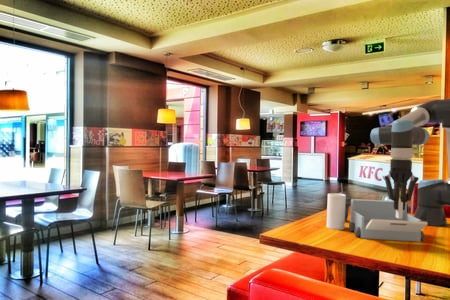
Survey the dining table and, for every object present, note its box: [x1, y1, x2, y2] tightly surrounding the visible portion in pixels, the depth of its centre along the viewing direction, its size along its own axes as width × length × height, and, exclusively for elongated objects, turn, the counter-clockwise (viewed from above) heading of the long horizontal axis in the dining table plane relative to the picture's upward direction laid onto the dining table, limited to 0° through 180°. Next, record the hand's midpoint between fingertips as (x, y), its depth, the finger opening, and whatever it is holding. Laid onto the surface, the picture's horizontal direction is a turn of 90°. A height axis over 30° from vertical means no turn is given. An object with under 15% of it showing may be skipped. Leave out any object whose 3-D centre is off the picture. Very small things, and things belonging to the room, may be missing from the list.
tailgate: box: [366, 219, 428, 232], centre depth 134 cm, size 21×1×9 cm
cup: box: [326, 192, 346, 231], centre depth 158 cm, size 8×8×16 cm
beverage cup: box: [338, 182, 352, 223], centre depth 173 cm, size 7×7×20 cm
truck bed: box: [348, 198, 425, 243], centre depth 148 cm, size 27×18×14 cm, turn 83°
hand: (398, 217), depth 131 cm, fingers closed
